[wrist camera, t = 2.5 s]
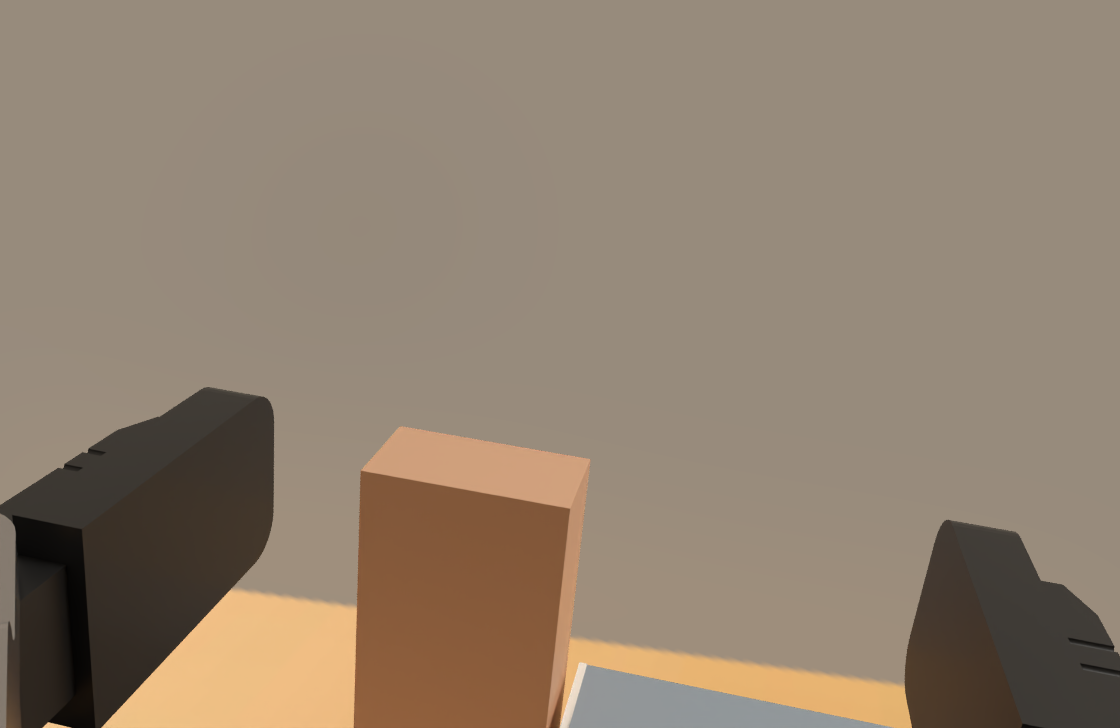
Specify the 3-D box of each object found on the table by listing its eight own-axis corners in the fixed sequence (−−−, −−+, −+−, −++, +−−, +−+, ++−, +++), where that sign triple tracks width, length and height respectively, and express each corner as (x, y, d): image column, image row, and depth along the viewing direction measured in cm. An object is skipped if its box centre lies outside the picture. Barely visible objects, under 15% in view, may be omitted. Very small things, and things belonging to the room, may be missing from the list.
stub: (546, 842, 33) (590, 459, 29) (525, 918, 31) (570, 508, 26) (384, 804, 34) (400, 426, 29) (350, 874, 32) (360, 470, 27)
